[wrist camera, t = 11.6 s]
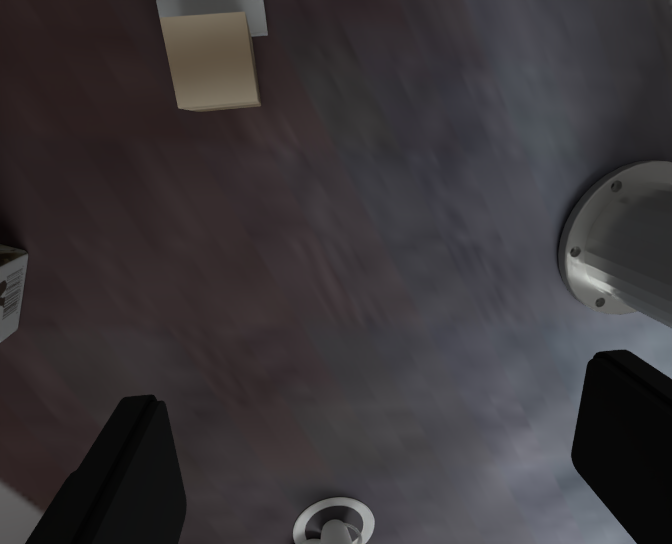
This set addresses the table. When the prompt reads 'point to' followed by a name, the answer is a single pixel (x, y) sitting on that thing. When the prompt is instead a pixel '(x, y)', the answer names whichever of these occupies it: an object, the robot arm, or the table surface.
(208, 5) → the scraper
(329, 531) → the teacup and saucer
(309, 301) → the table surface
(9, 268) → the coffee box
